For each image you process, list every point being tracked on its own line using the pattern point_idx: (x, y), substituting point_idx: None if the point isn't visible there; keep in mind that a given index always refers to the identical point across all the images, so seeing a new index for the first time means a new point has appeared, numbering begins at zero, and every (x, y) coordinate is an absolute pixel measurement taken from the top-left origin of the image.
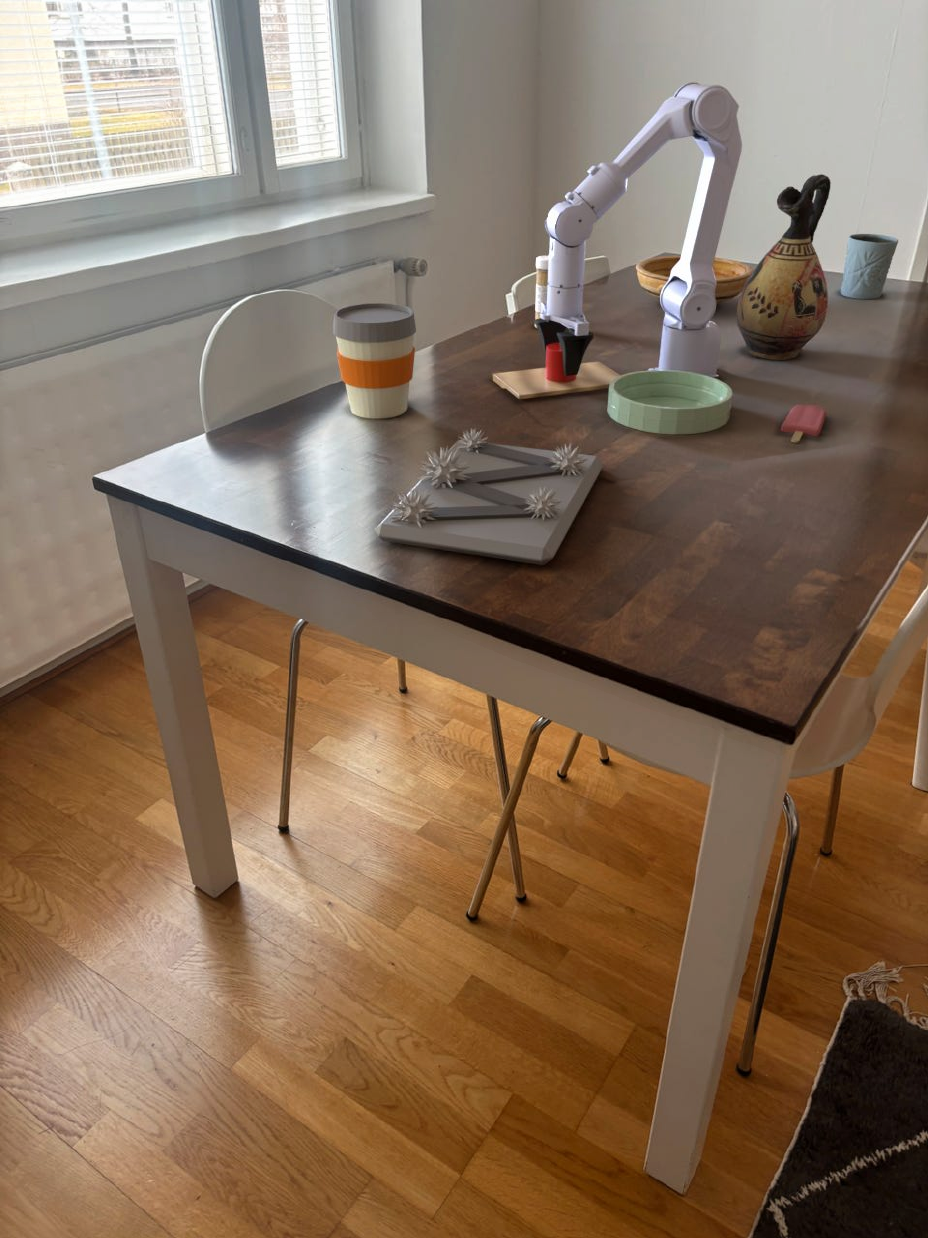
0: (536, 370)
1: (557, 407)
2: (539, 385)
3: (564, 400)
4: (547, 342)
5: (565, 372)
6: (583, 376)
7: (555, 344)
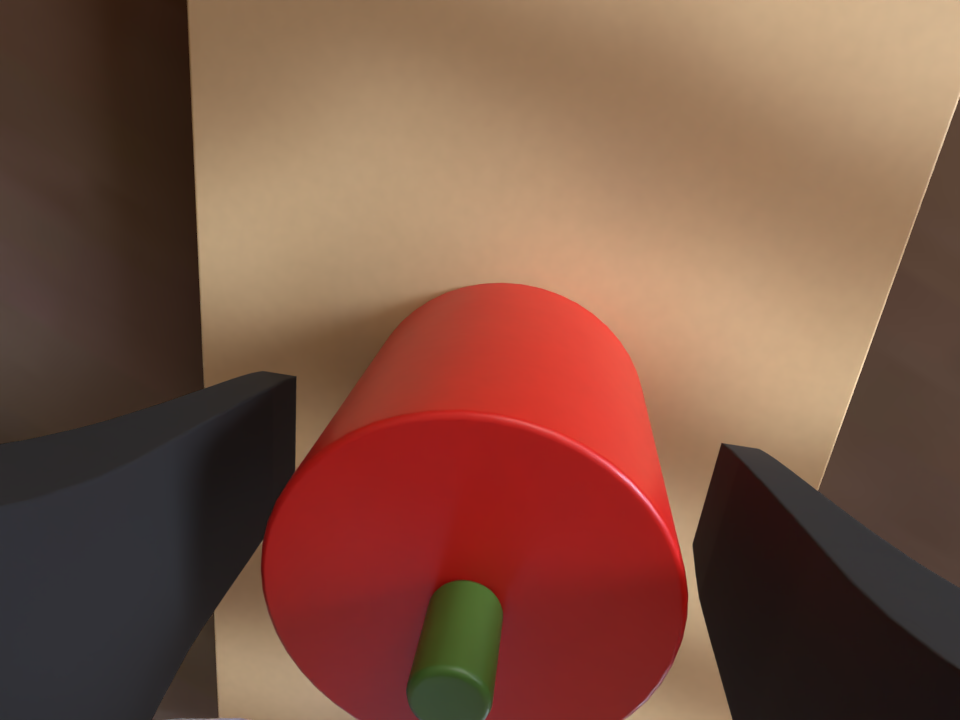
0: (808, 342)
1: (7, 60)
2: (390, 122)
3: (152, 209)
4: (803, 583)
5: (247, 374)
6: None
7: (606, 596)
